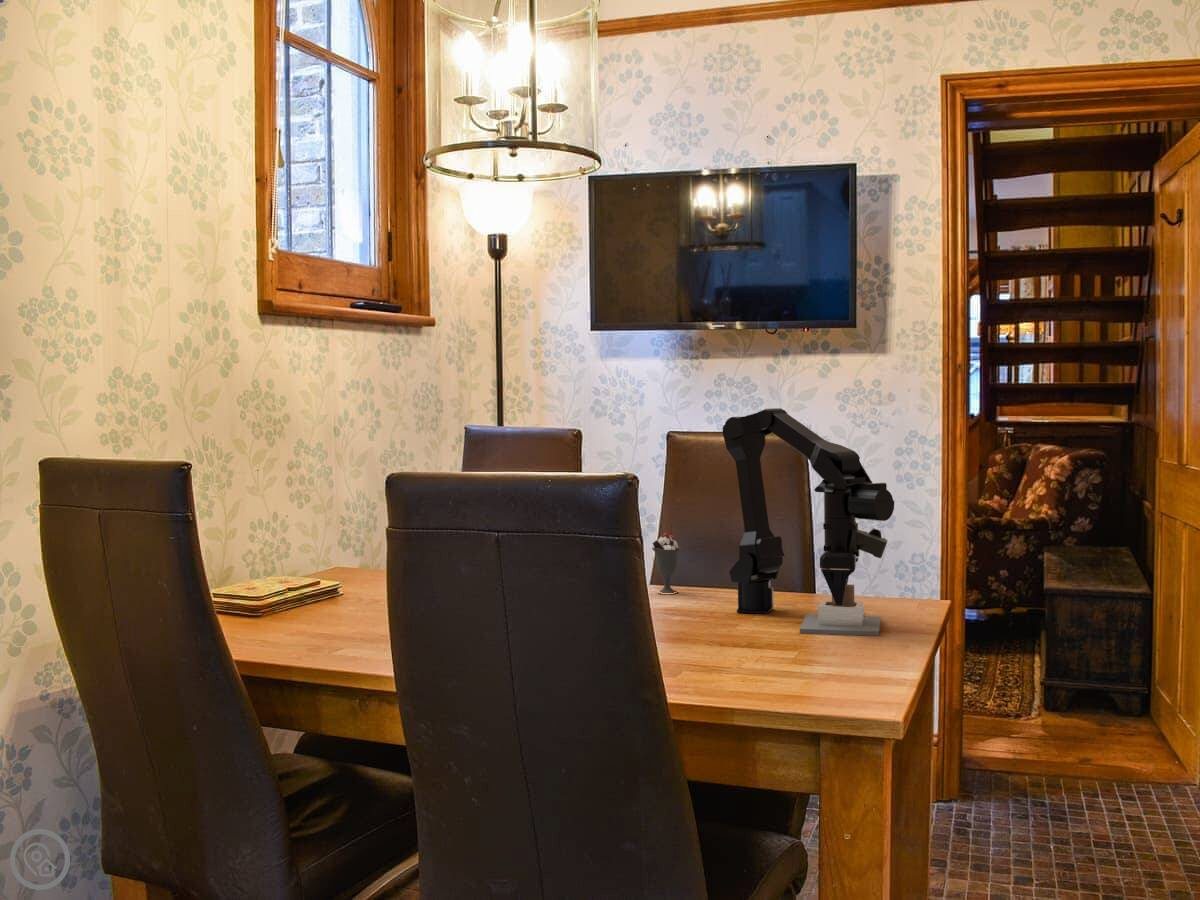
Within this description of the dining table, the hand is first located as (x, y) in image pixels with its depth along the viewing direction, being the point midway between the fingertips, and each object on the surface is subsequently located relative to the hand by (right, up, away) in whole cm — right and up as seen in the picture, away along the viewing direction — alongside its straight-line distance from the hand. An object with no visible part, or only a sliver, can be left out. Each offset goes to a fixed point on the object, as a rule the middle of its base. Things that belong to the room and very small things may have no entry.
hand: (840, 600), depth 206 cm
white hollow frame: (0, -5, 0) cm, 5 cm away
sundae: (-30, -4, +41) cm, 51 cm away
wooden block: (+1, -4, 0) cm, 4 cm away
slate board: (0, -5, 0) cm, 5 cm away
